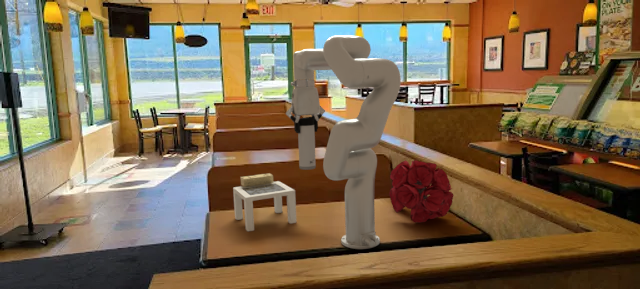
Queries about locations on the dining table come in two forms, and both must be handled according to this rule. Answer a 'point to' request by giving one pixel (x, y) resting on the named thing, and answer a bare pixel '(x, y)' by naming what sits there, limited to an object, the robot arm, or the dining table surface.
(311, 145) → the travel mug
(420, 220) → the bouquet
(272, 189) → the trapdoor
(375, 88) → the robot arm
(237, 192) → the stand
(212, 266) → the dining table surface
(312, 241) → the dining table surface
